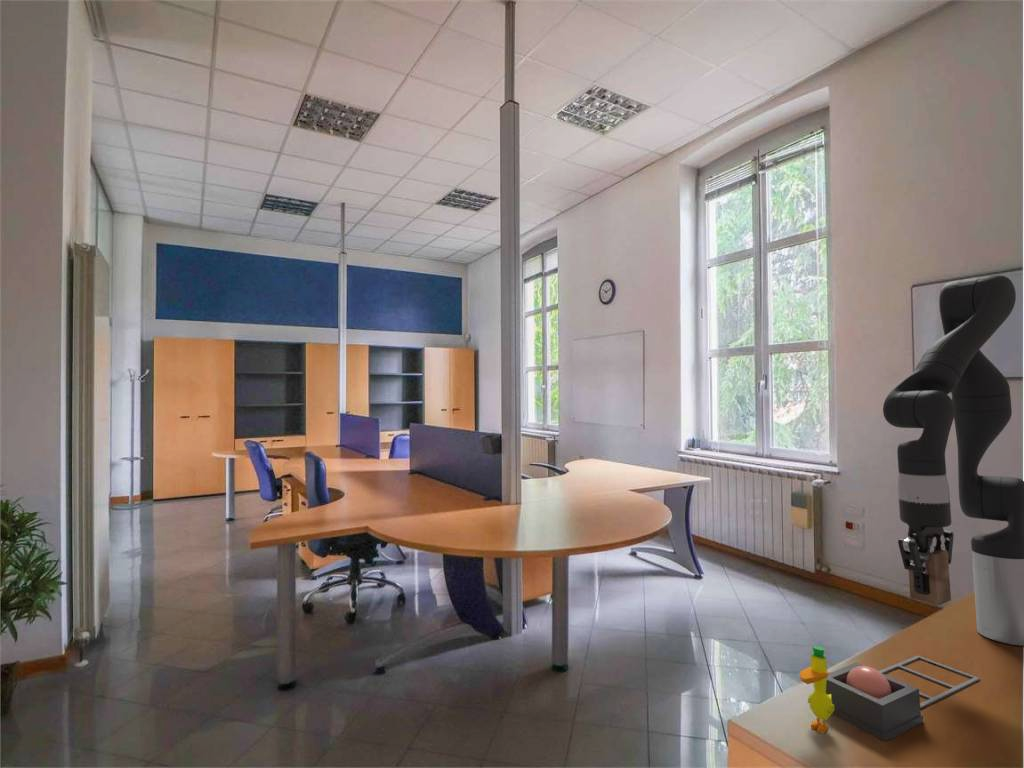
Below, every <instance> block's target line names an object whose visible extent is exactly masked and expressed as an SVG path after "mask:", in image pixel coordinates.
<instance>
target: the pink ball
mask: <svg viewBox="0 0 1024 768" xmlns="http://www.w3.org/2000/svg"><path fill="white" fill-rule="evenodd" d="M879 671H880V670H877V669H875V668H873V667H871V666H868V665H863V666H858V667H855V668H853V669H852V670H851V671H850V672H849V673H848V675H847V679H846V684H847V685H849V686H851V687H853V688H855V689H857V690H860V691H862V692H864V693H866V694H868V695H870V696H873V697H875V698H877V699H881V698H883V697H885V696H887V695H890V694H892V691H891V687H890V684H889V682H888V681H887V679H886V678H885V677H884V676H883V675H882V674H881V673H880V672H879Z"/></svg>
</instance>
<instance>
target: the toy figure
mask: <svg viewBox="0 0 1024 768" xmlns="http://www.w3.org/2000/svg"><path fill="white" fill-rule="evenodd" d="M812 650H813V651H811V652H810V666H809V667H806V668H804V669H803V670H801V671H800V672H799V676H798V677H799V678H800V680H801V681H802V682H803V683H804V684H806V685H810V684H813V688H814V689H813V690H814V691H812V692H811V693H810V694H809V695H808V696H809V697H808V700H807V704H809V709H810V710H811V712H812V714H813V715H814V716H815V717H816V720H812V722H811V725H810V727H811V729H813V730H817V732H818V733H819V734H820V733H821V734H823V733H826V732H827V731H828V730H829V727H828V726H827V722H826V720H828V719H829V718H830V716H831V715H833V714H832V713H833V712H834V704H832V700H831V694H829V695H827V694H826V683H827V676H828V674H829V673H830V671H828V667H827V666H828V665H827V663H828V662H827V658H828V657H827V655H826V654H825V648H823V647H821V646H818V645H816V646H813V647H812ZM820 720H821V721H822V722H821V721H820Z"/></svg>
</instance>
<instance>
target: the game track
mask: <svg viewBox="0 0 1024 768" xmlns="http://www.w3.org/2000/svg"><path fill="white" fill-rule="evenodd" d="M918 660H920V661H924V662H927V663H929V662H930V664H932V663H933V664H932V665H934V664H936V665H935V666H937V665H938V666H937V667H940V666H941V667H940V668H942V667H944V668H943V669H945V668H946V669H945V670H948V671H950V672H954V673H956V674H958V675H962V676H964V677H966V678H969V679H967V680H966V681H964V682H962V683H959V684H957V685H955V686H954V685H952V684H949V683H946V682H943V681H941V680H939V679H937V678H933V677H931V676H928V675H926V674H923V673H920V672H918V671H916V670H913V669H910V668H908V667H905V666H906V665H908V664H910V663H913V662H915V661H918ZM896 669H901V670H903V671H906V672H908V673H911V674H913V675H916V676H918V677H921V678H924V679H926V680H928V681H930V682H934V683H936V684H939V685H940V686H941V685H942V686H943V687H947V688H948V689H947V690H945V691H943V692H941V693H939V694H937V695H935V696H931V695H928V694H925V693H923V692H921V691H919V696H920V697H922V698H924V699H926V700H924V701H921V702H920V710H922V709H923V708H925V707H928V706H929V705H931V704H934V703H936V702H938V701H940V700H942V699H944V698H945V697H948V696H950V695H952V694H954V693H956V692H958V691H961V690H962V689H964V688H966V687H968V686H971V685H973V684H975V683H976V682H979V681H980V680H981V678H980V677H977V676H975V675H972V674H969V673H966V672H965V671H961V670H958V669H956V668H953V667H951V666H948V665H945V664H942V663H940V662H936V661H934V660H932V659H929V658H925V657H923V656H920V655H914V656H912V657H910V658H908V659H905V660H903V661H901V662H897V663H895V664H893V665H891V666H888V667H886V668H883V669H880V670H878V671H879V672H880V673H882V674H886V672H887V673H889V672H891V671H894V670H896Z"/></svg>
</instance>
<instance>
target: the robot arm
mask: <svg viewBox="0 0 1024 768" xmlns="http://www.w3.org/2000/svg"><path fill="white" fill-rule="evenodd" d="M1016 298H1017V294H1016V288H1015V285H1014V284H1013V282H1012V280H1011V279H1010V278H1009V277H1007V276H1004V275H999V274H998V275H985V276H979V277H973V278H966V279H959V280H954V281H950V282H947V283H945V284H944V285H943V286H942V288H941V290H940V292H939V300H938V302H939V305H938V306H939V314H940V320H941V326H942V329H943V335H944V336H942V337H941V338H939V339H938V340H936V341H935V342H934V343H933V344H932V345H931V346H929V347H928V348H927V350H925V353H923V355H922V356H921V359H920V360H919V362H918V364H917V365H916V367H915V369H914V371H912V372H911V374H909V375H907V376H906V377H905V378H904V379H903V380H901V382H900V383H898V384H897V385H896V386H895V387H894V388H893V389H891V391H890V392H888V393H889V394H888V395H886V397H885V400H884V402H883V405H882V406H883V407H882V414H883V417H884V419H885V421H886V422H887V423H888V424H889V425H891V426H893V427H896V428H901V429H903V428H904V429H923V430H922V433H921V435H920V437H919V438H918V439H915V440H907V441H903V442H901V443H899V444H898V445H897V446H898V447H897V448H896V450H897V451H896V452H897V453H896V454H897V466H898V467H897V468H898V478H897V479H898V480H897V492H898V507H899V508H898V510H899V511H898V512H899V519H900V521H901V522H903V524H906V525H907V526H908V531H907V538H906V539H904V538H899V539H898V540H897V544H898V547H899V552H900V555H901V559H902V563H903V567H904V568H903V569H905V570H907V571H909V570H910V571H912V572H913V578H914V590H915V592H917V593H920V594H924V595H928V594H930V588H929V574H928V573H929V564H928V563H929V562H930V561H931V554H933V553H934V551H937V550H940V551H943V550H946V551H948V564H949V565H951V563H952V556H953V546H954V536H955V535H954V532H953V531H949V530H944V528H947V527H950V526H951V525H952V512H951V511H952V510H951V500H950V499H951V497H950V486H949V482H948V476H947V466H946V465H947V464H946V450H947V443H948V440H949V435H950V432H951V429H952V425H953V423H954V426H955V427H954V428H955V435H956V443H957V446H956V447H957V467H958V468H957V473H958V476H957V477H958V478H957V479H958V498H959V499H958V500H959V507H960V509H961V511H962V513H963V514H964V515H965V517H968V518H972V519H980V520H981V519H982V520H987V521H998V522H1007V523H1008V524H1007V526H1005V527H1004V528H1002V529H999V530H997V531H993V532H992V531H991V532H987V533H985V532H984V533H980V534H976V535H973V536H972V537H971V539H970V543H971V544H970V545H971V546H970V547H971V559H972V574H973V588H974V589H973V590H974V601H975V615H976V617H975V619H976V629H977V633H978V634H980V635H981V636H983V637H985V638H987V639H990V640H993V641H995V642H996V641H997V642H1000V643H1003V644H1008V645H1013V646H1020V647H1021V646H1023V647H1024V480H1023V479H1022V478H1019V477H1013V476H999V475H998V476H997V475H996V476H995V475H980V474H978V467H979V465H980V462H981V460H982V459H983V458H984V456H985V453H986V452H987V450H988V449H989V447H990V446H991V445H992V443H993V442H994V441H995V440H996V439H997V438H998V436H1000V434H1001V433H1002V431H1004V429H1005V427H1006V426H1007V425H1008V424H1009V421H1010V420H1011V417H1012V413H1013V410H1012V397H1011V387H1010V384H1009V382H1008V380H1007V378H1006V377H1005V375H1004V374H1003V373H1002V372H1001V370H999V369H998V368H997V367H996V366H995V365H994V363H992V361H991V360H989V358H988V357H987V356H986V355H985V354H984V353H983V352H982V350H981V348H982V347H983V346H984V345H985V344H986V343H987V341H988V340H989V339H990V338H991V337H992V336H993V335H994V334H995V333H996V331H997V330H999V328H1000V327H1001V326H1002V325H1003V324H1004V322H1005V321H1006V320H1007V319H1008V317H1010V315H1011V313H1012V312H1013V310H1014V307H1015V304H1016V300H1017V299H1016ZM949 394H950V395H951V397H950V396H949ZM919 552H921V553H927V554H926V556H920V555H919ZM909 560H911V563H910V561H909ZM921 560H922V561H923V566H922V563H921Z"/></svg>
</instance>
